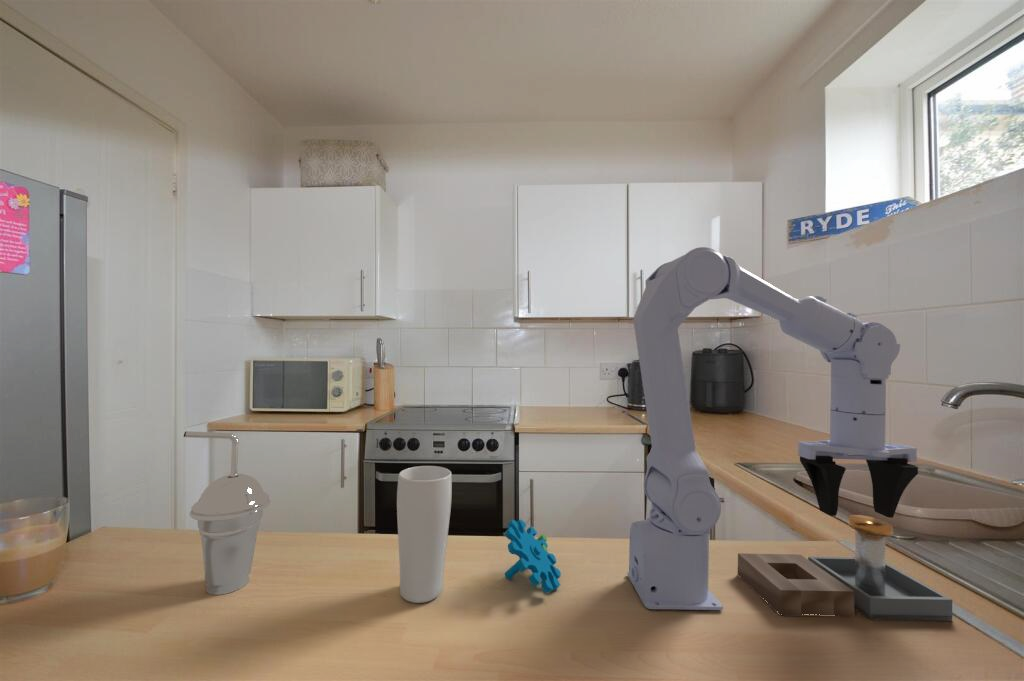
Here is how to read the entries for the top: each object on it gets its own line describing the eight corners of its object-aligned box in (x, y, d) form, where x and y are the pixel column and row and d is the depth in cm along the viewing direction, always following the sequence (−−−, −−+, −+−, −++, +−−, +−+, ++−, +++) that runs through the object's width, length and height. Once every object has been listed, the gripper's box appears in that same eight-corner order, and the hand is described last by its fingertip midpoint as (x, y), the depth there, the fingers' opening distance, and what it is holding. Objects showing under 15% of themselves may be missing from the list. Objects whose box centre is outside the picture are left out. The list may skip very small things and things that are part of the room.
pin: (868, 600, 52) (868, 528, 52) (839, 581, 56) (840, 514, 57) (902, 601, 52) (902, 529, 52) (871, 581, 56) (871, 515, 57)
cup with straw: (256, 598, 50) (264, 432, 50) (166, 611, 47) (175, 434, 48) (274, 563, 58) (280, 420, 58) (197, 572, 55) (204, 422, 56)
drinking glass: (458, 586, 54) (462, 470, 54) (427, 615, 48) (431, 484, 48) (416, 573, 56) (420, 462, 57) (381, 599, 50) (386, 475, 51)
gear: (552, 599, 49) (502, 525, 52) (516, 628, 50) (469, 553, 53) (573, 568, 59) (529, 508, 62) (543, 592, 60) (502, 532, 63)
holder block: (780, 615, 49) (780, 590, 49) (737, 574, 58) (737, 553, 58) (854, 616, 50) (854, 591, 50) (800, 575, 59) (800, 554, 59)
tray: (870, 619, 49) (870, 598, 49) (808, 574, 59) (808, 556, 59) (952, 620, 49) (952, 599, 49) (876, 575, 59) (876, 557, 59)
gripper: (826, 414, 51) (825, 524, 51) (941, 418, 52) (940, 528, 51) (788, 407, 59) (786, 503, 58) (888, 410, 59) (888, 506, 58)
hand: (855, 513), depth 55 cm, fingers open, 7 cm apart
